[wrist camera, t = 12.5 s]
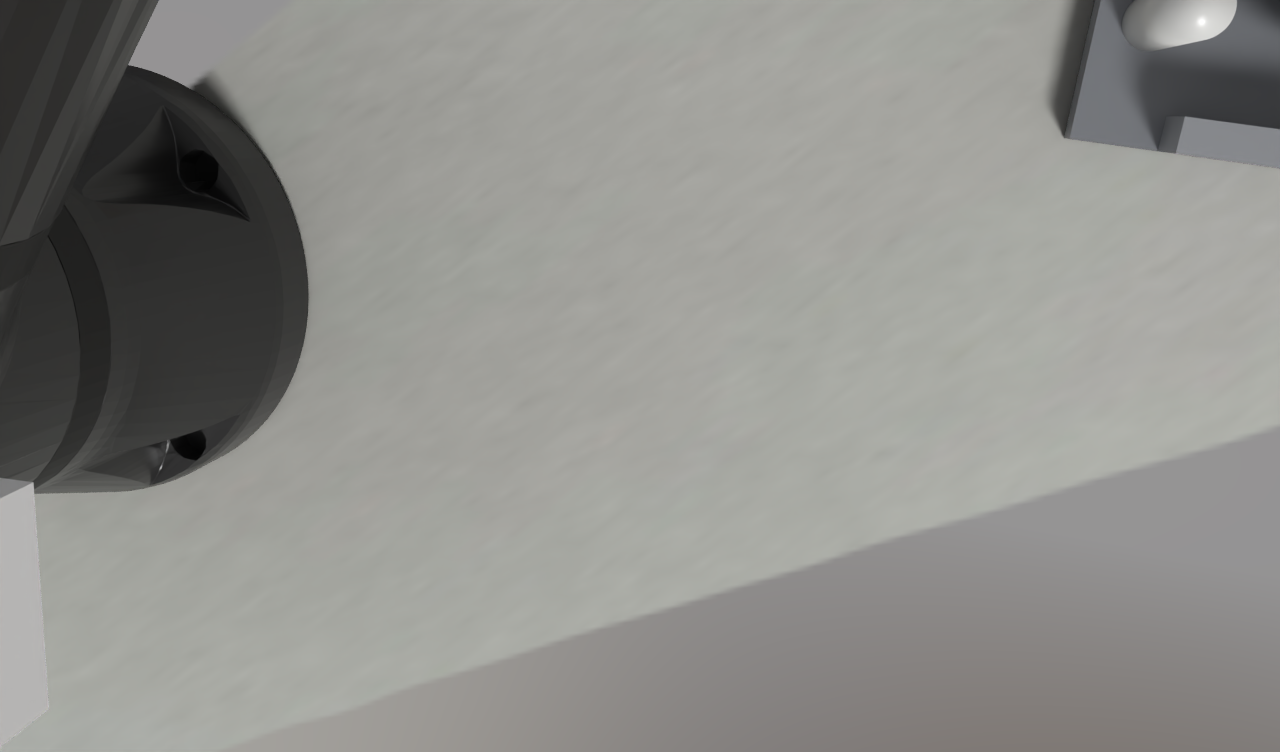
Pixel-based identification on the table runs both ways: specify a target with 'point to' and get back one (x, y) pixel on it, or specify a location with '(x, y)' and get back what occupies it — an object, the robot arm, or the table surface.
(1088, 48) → the tray
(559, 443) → the table surface
